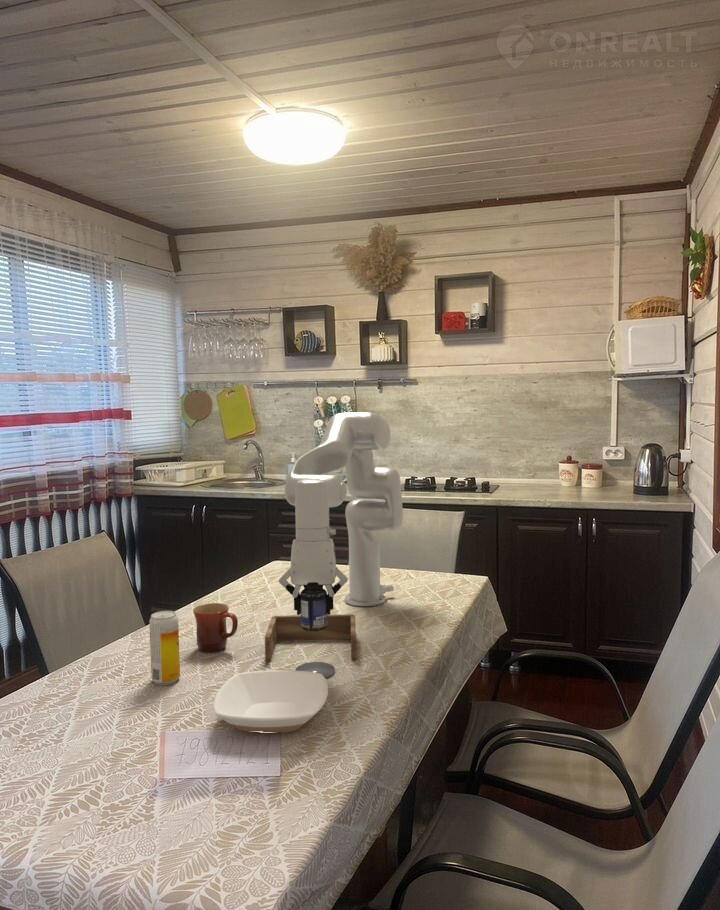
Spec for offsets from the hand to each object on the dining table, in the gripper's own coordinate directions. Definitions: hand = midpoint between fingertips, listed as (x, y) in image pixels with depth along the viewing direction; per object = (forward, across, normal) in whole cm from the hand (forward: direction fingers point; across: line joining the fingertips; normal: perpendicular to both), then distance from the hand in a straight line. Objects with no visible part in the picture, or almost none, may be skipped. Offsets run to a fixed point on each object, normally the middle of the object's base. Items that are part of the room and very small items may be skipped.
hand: (313, 612), depth 150 cm
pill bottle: (+4, 0, 0) cm, 4 cm away
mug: (+14, +25, -16) cm, 33 cm away
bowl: (+14, +7, +21) cm, 27 cm away
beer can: (+14, +33, +3) cm, 36 cm away
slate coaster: (+14, 0, 0) cm, 14 cm away
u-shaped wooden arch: (+14, +1, -14) cm, 20 cm away
